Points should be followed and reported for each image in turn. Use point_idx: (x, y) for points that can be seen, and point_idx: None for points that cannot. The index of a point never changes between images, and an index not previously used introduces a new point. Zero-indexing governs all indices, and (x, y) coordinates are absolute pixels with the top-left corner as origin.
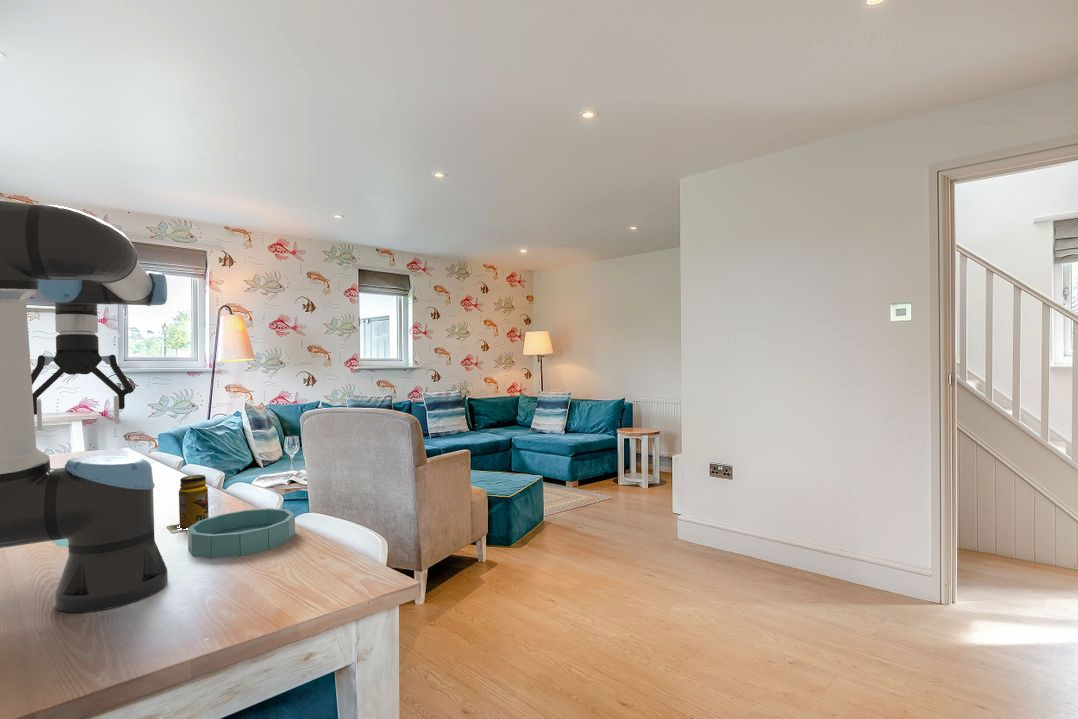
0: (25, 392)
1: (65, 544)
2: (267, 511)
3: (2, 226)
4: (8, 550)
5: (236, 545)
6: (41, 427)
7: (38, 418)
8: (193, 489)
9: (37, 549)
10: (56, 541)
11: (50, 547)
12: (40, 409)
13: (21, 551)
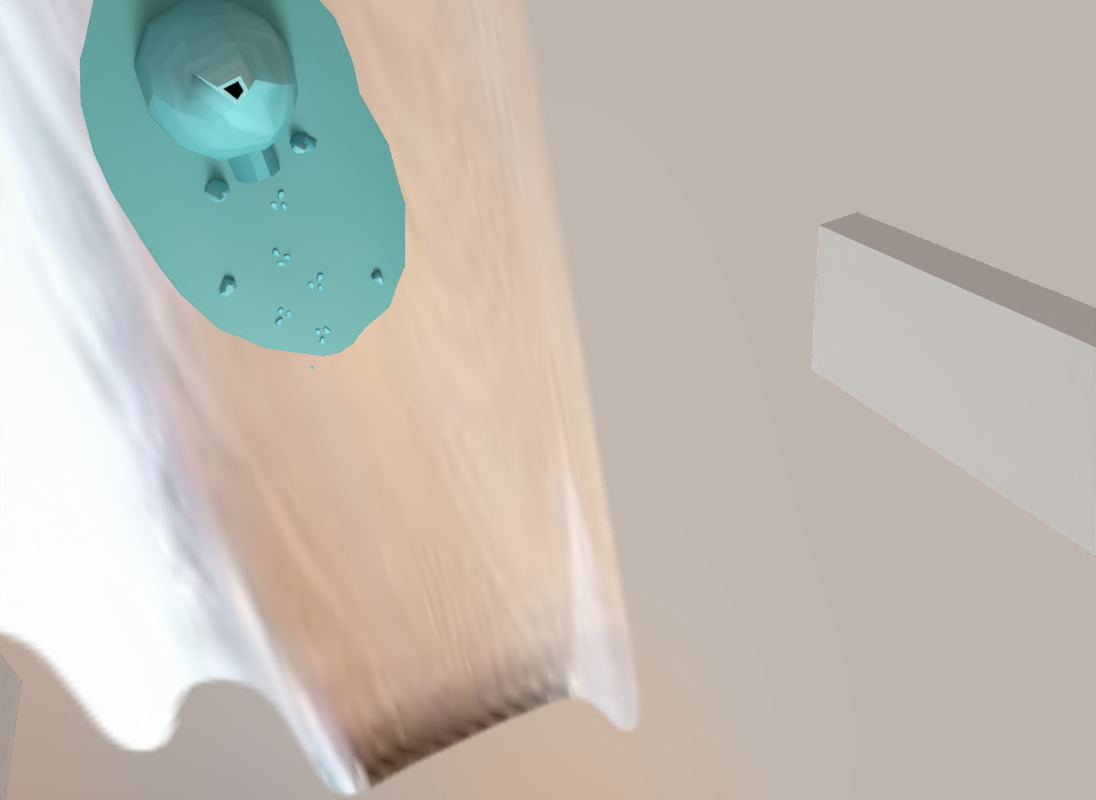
0: None
1: (296, 2)
2: None
3: None
4: (534, 82)
5: None
6: (842, 234)
7: (973, 269)
8: None
9: (415, 3)
10: (365, 121)
11: (361, 2)
12: (1087, 338)
13: (477, 14)
